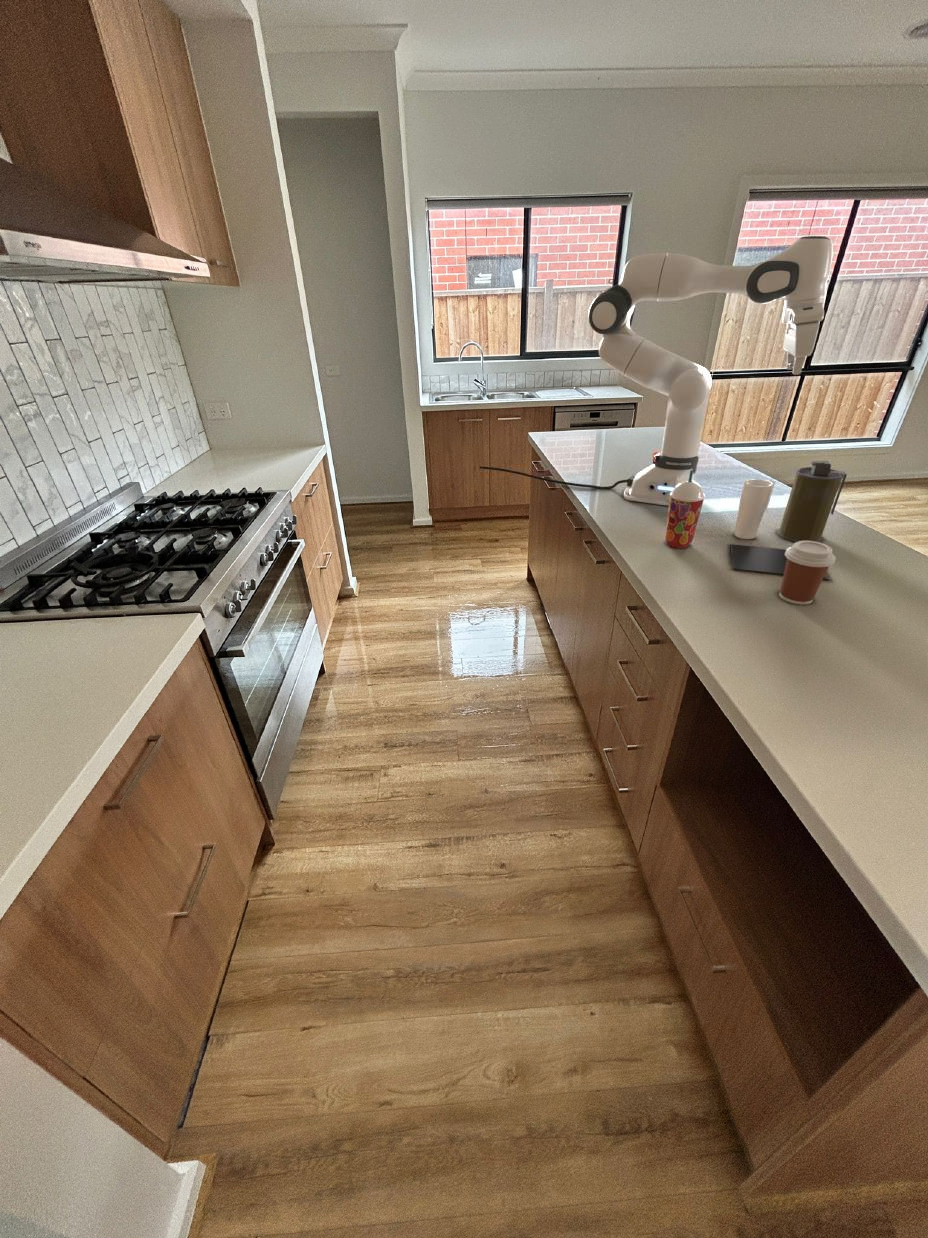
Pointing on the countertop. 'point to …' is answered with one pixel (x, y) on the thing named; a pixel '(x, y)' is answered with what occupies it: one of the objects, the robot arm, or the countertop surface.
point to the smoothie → (683, 513)
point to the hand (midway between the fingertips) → (793, 371)
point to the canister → (811, 502)
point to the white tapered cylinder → (752, 507)
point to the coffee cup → (805, 570)
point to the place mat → (759, 559)
